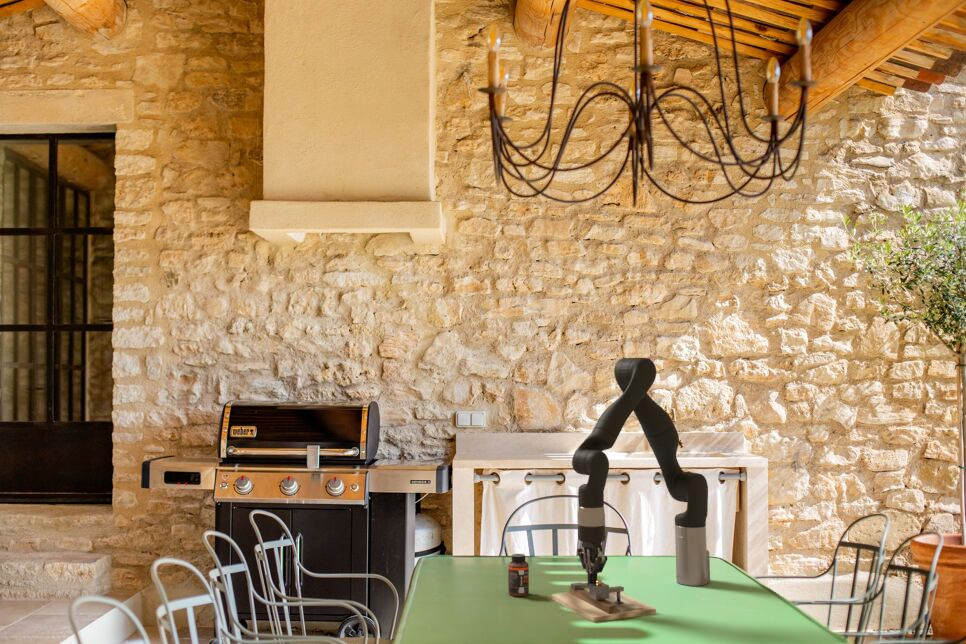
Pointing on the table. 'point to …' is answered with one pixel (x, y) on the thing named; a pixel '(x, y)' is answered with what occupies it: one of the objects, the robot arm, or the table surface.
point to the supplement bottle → (518, 576)
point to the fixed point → (579, 586)
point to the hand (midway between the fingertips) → (592, 587)
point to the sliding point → (603, 590)
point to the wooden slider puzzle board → (602, 605)
